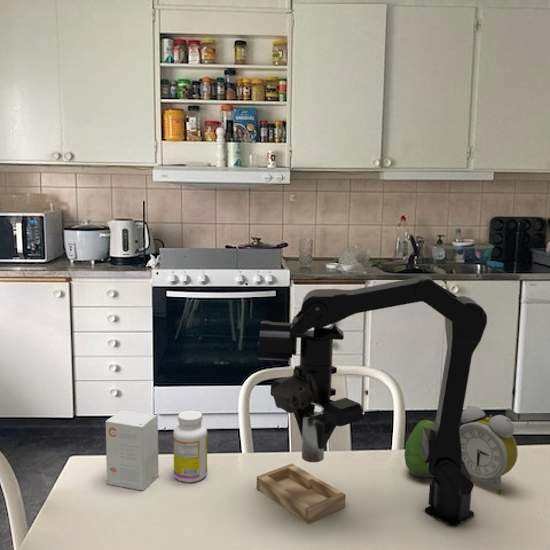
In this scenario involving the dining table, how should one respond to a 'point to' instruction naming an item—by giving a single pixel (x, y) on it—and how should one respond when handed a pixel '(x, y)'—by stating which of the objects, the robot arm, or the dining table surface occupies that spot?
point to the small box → (132, 449)
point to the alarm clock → (487, 445)
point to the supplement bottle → (190, 447)
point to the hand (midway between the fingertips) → (313, 444)
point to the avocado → (417, 451)
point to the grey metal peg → (311, 439)
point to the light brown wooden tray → (301, 492)
